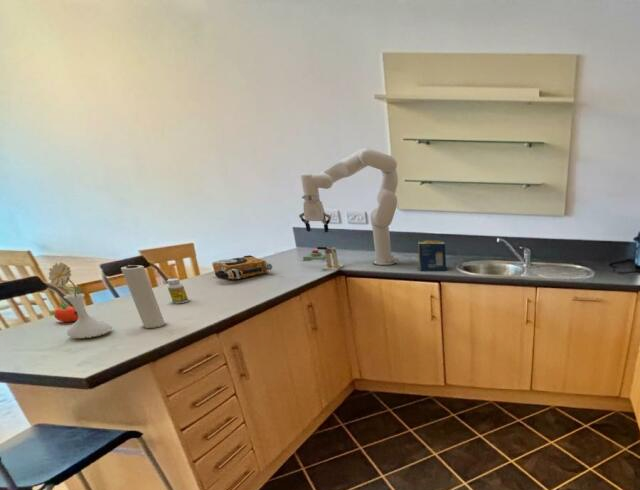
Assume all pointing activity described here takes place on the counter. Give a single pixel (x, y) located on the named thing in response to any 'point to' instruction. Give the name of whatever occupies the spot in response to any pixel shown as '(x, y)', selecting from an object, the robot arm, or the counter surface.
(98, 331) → the flower in vase
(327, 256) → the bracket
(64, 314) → the tomato
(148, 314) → the paper towel roll
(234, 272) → the device
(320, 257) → the button box
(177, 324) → the counter surface
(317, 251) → the button
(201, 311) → the counter surface
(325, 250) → the lever
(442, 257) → the protein box
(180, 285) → the supplement bottle
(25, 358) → the counter surface
